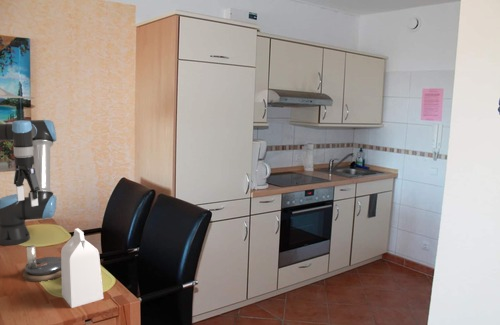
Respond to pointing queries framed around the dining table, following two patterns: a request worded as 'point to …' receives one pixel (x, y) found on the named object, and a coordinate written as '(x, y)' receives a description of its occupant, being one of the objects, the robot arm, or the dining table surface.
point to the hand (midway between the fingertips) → (27, 203)
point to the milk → (80, 271)
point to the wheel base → (41, 277)
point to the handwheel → (41, 263)
